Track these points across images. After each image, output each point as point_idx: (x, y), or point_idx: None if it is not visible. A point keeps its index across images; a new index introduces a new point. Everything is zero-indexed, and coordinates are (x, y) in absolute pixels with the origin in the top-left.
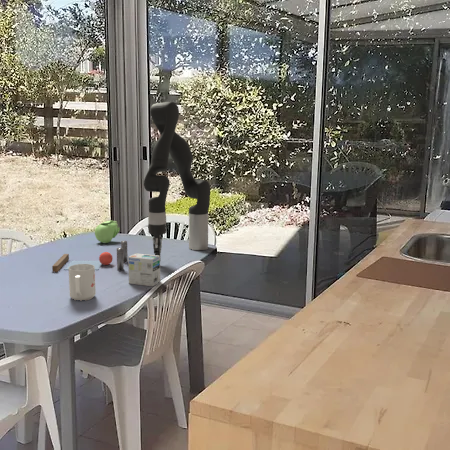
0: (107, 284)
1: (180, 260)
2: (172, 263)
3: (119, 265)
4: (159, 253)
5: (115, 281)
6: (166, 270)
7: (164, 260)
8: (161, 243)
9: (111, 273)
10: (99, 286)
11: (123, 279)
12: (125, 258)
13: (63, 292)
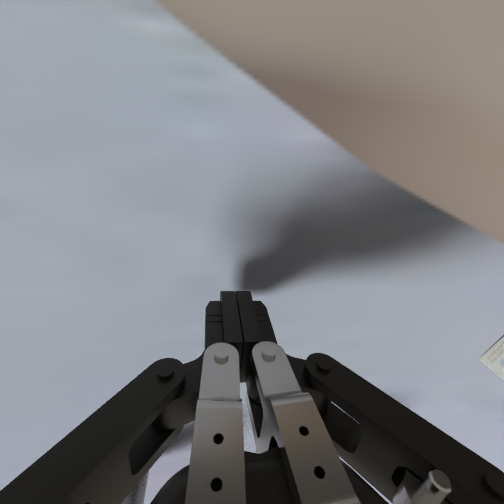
0: (488, 431)
1: (13, 70)
2: (162, 173)
3: None
4: (326, 359)
5: (466, 419)
6: (375, 224)
7: (55, 247)
8: (243, 470)
9: None
10: (496, 444)
11: (453, 402)
12: (145, 475)
13: None
